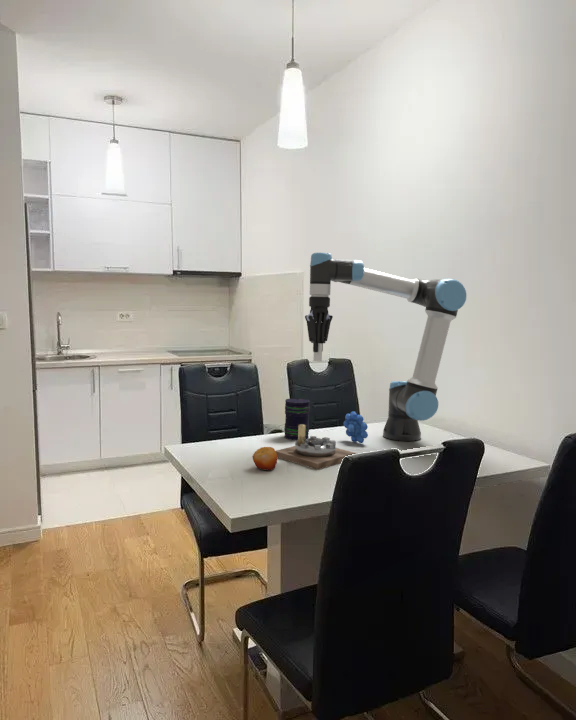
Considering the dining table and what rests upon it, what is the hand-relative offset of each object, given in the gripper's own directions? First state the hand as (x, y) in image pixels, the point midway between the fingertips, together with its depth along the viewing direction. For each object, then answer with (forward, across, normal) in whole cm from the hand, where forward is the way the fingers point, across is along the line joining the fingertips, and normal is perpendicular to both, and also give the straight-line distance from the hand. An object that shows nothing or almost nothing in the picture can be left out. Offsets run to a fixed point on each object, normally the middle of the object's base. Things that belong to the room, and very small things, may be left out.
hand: (317, 360), depth 207 cm
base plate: (+32, +10, +9) cm, 35 cm away
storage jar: (+33, -6, -15) cm, 36 cm away
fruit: (+33, +32, +7) cm, 46 cm away
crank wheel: (+30, +10, +9) cm, 33 cm away
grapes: (+33, -17, +5) cm, 37 cm away
